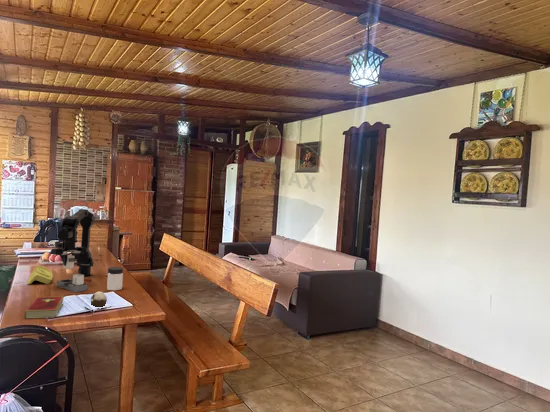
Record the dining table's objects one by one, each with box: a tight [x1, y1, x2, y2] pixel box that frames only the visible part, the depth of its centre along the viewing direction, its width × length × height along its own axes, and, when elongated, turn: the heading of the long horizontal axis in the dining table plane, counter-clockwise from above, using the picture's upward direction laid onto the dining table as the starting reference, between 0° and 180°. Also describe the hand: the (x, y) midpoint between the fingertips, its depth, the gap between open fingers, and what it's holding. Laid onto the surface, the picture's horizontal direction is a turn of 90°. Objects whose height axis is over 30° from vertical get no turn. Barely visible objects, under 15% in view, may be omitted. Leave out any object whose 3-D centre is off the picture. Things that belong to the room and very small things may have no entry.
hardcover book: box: [24, 296, 65, 319], centre depth 181 cm, size 12×21×4 cm, turn 20°
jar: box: [106, 266, 124, 291], centre depth 226 cm, size 9×8×12 cm
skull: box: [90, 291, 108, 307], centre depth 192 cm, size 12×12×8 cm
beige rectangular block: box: [62, 254, 76, 270], centre depth 223 cm, size 4×5×7 cm
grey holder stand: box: [56, 273, 88, 293], centre depth 220 cm, size 7×18×8 cm, turn 59°
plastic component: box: [27, 265, 53, 286], centre depth 230 cm, size 20×7×10 cm
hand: (68, 265), depth 223 cm, fingers closed on beige rectangular block, 4 cm apart
